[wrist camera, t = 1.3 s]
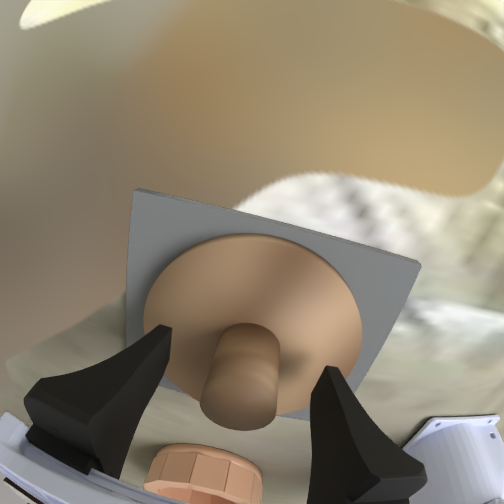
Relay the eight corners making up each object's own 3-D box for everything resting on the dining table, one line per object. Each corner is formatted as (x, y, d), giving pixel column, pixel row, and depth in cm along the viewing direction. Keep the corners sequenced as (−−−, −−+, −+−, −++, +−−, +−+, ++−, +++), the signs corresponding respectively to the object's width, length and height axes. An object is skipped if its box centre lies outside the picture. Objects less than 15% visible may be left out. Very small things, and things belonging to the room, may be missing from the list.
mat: (417, 260, 14) (421, 265, 13) (332, 417, 18) (333, 424, 17) (139, 187, 14) (133, 190, 13) (130, 368, 18) (127, 373, 18)
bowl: (275, 459, 21) (272, 499, 17) (249, 497, 24) (244, 527, 21) (156, 430, 21) (141, 468, 17) (157, 474, 25) (147, 503, 21)
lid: (392, 267, 13) (433, 327, 9) (315, 416, 17) (317, 481, 13) (161, 207, 13) (102, 244, 9) (147, 376, 17) (117, 434, 13)
